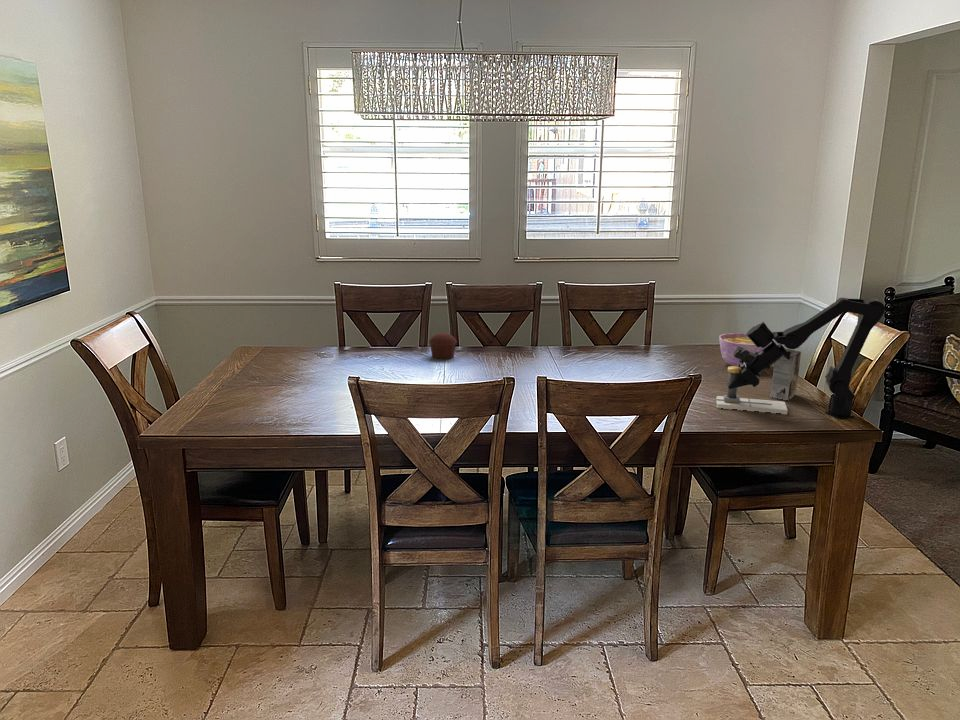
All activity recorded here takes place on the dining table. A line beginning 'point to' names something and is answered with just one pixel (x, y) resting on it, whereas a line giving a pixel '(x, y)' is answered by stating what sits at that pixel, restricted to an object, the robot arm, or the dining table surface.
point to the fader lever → (732, 393)
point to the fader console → (753, 405)
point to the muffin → (442, 346)
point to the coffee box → (786, 376)
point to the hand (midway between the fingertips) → (728, 386)
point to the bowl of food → (732, 342)
